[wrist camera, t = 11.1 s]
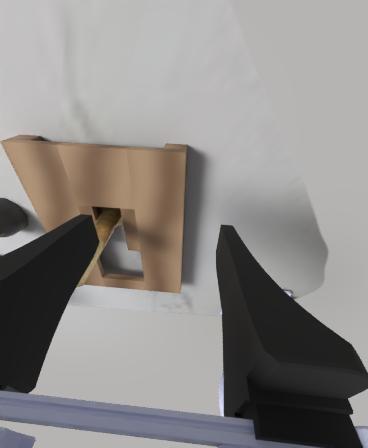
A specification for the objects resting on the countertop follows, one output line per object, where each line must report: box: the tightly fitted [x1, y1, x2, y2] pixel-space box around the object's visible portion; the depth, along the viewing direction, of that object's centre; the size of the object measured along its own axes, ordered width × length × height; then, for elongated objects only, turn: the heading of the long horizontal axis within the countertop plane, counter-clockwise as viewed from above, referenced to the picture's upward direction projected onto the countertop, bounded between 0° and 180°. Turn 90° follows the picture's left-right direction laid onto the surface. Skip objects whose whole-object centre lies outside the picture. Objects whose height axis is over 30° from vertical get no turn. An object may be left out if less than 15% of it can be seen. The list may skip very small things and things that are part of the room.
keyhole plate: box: [0, 135, 188, 293], centre depth 24 cm, size 16×20×2 cm
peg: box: [77, 207, 123, 287], centre depth 19 cm, size 4×4×10 cm
